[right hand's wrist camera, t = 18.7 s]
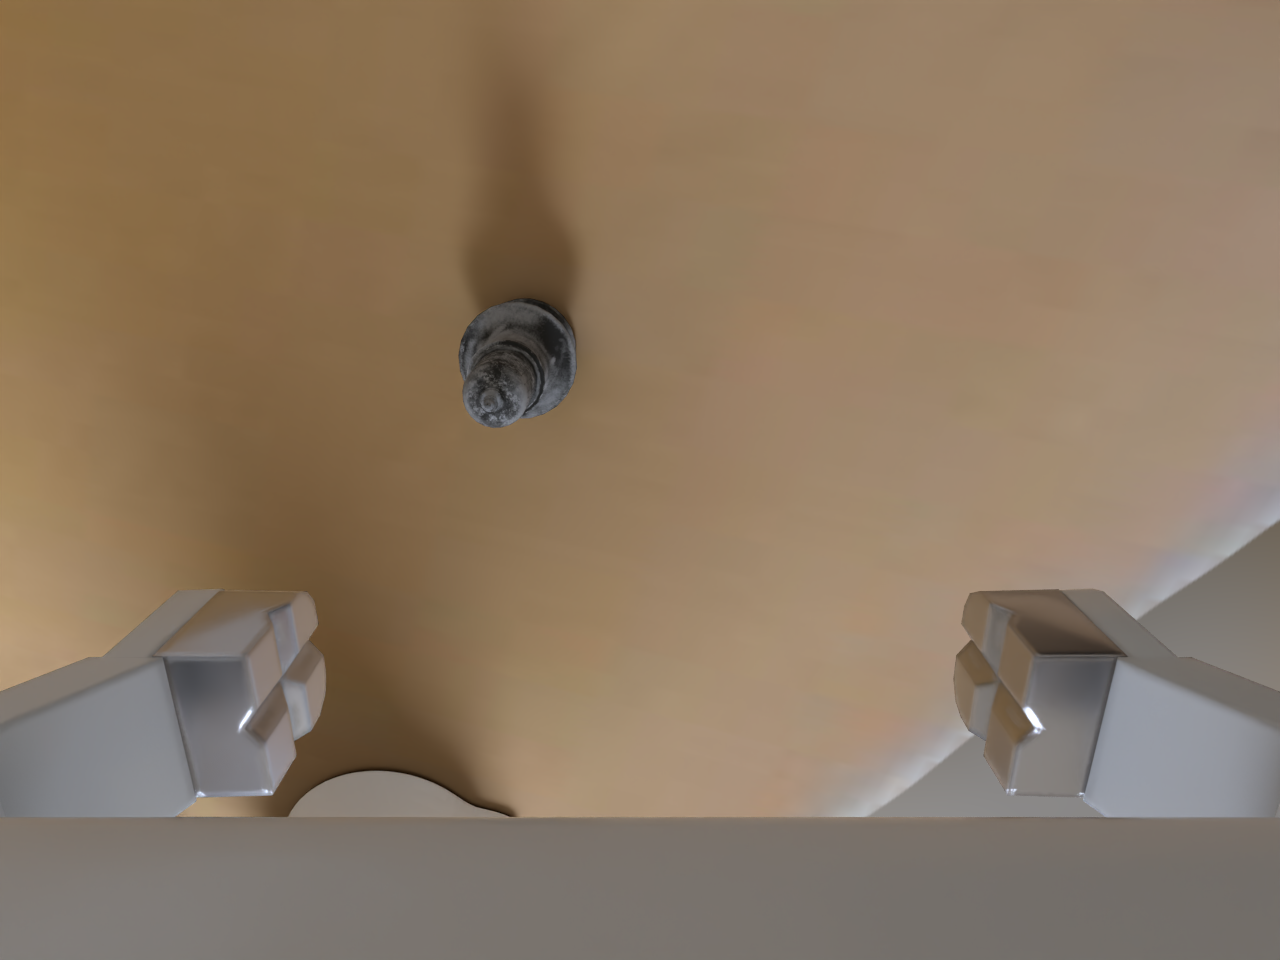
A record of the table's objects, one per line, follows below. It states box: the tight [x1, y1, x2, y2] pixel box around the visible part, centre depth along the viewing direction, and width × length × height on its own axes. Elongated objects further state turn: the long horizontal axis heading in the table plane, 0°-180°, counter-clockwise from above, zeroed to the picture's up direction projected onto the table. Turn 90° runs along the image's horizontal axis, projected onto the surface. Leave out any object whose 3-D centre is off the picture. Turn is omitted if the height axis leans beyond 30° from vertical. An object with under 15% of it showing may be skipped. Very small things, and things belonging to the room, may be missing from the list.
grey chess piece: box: [459, 299, 577, 428], centre depth 38 cm, size 6×6×12 cm
